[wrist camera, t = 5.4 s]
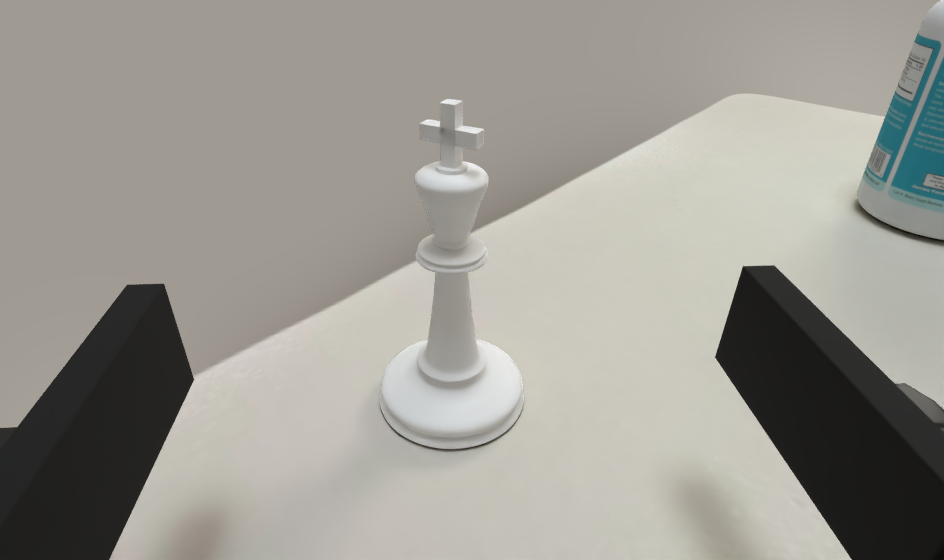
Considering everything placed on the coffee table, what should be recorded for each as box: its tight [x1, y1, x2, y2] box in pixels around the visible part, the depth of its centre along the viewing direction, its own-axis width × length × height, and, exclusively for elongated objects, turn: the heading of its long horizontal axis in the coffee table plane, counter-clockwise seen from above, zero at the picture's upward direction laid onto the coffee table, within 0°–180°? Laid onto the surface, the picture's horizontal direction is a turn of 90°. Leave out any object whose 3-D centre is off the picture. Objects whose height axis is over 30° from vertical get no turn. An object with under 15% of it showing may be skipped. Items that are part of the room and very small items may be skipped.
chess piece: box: [380, 99, 524, 449], centre depth 17 cm, size 5×5×10 cm
